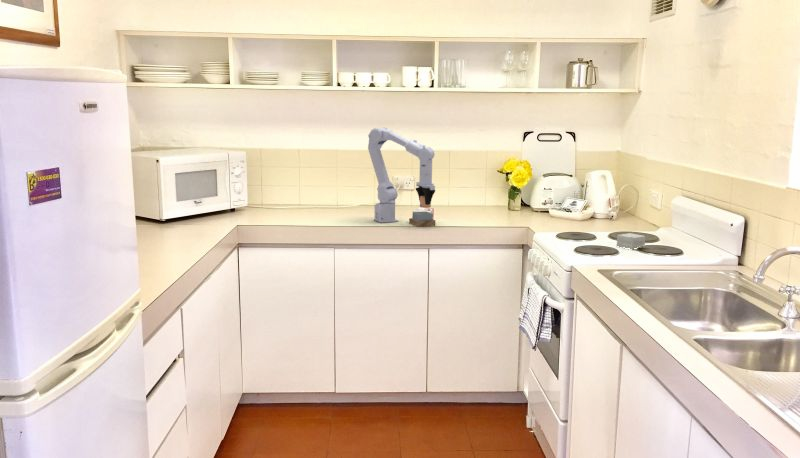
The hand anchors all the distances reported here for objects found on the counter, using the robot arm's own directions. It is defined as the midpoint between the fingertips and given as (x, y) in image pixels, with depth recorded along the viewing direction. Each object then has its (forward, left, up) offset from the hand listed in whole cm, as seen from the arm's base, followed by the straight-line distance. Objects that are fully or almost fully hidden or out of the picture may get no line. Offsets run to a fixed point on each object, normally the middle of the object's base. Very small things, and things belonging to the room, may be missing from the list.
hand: (425, 203), depth 313 cm
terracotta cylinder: (0, 0, -2) cm, 2 cm away
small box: (+53, -76, -10) cm, 93 cm away
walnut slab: (-1, 0, -10) cm, 10 cm away
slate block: (-1, 0, -7) cm, 7 cm away
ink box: (+9, +17, -7) cm, 20 cm away
